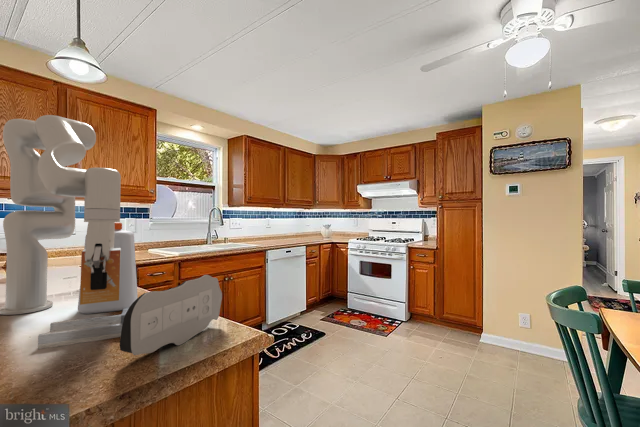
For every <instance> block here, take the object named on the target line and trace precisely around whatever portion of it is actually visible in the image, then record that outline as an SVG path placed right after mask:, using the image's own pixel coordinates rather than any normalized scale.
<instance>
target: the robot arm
mask: <svg viewBox="0 0 640 427" xmlns="http://www.w3.org/2000/svg"><path fill="white" fill-rule="evenodd" d="M2 141H3V145H4V148H5V151H6V154H7V155H8V159H9V163H10V172H9V173H10V176H9V178H10V182H9V185H10V190H9V192H10V199H11V201H12V202H13V203H14V204H15V205H16V206H22V207H23V206H24V207H35V208H36V207H38V208H39V207H40V208H53V209H54V210H27V209H26V210H16V211H12V212H10V213H8V214H6V215H5V216H4V219H3V221H2V227H3V232H4V238H5V245H6V246H5V248H6V263H5V264H6V270H5V271H6V272H5V304H4V306H2V307H0V315H4V316H12V315H13V316H14V315H22V314H30V313H34V312H35V313H37V312H40V311H44V310H47V309H49V308H52V307H53V304H54V302H53V301H52V300H47V299H48V265H49V263H48V262H49V261H48V259H49V258H48V257H49V256H48V255H49V254H48V251H47V249H46V248H45V247H44V246H43V245H42V244H41V243H40V242H39V241H41V240H42V241H43V240H59V239H60V240H61V239H68V238H70V237H71V236H72V235H73V234H74V232H75V228H76V198H84V204H83V206H84V208H83V210H84V211H83V214H84V215H83V222H84V223H87V229H86V234H87V236H86V235H85V237H86V250H85V261H86V262H89V261H88V260H91V258H92V256H93V254H94V256H93V259H92V268H91V284H90V289H91V290H98V289H106V288H107V272H106V262H107V261H108V260H110V253H111V250H112V249H114V239H115V223H121V192H122V190H121V188H122V187H121V184H122V180H121V178H122V176H121V173H120V172H119V171H118V170H117V169H113V168H107V167H89V168H88V169H85V168H78V167H77V168H76V167H69V166H74V165H76V164H79V163H80V162H81V161H82V160H83V159H85V156H86V155H87V151H88V150H91V149H92V148H93V147H94V146H95V145H96V142H97V133H96V132H95V129H94V128H93V127H92V126H91V125H89V124H88V123H86V122H83V121H79V120H75V119H71V118H68V117H67V118H66V117H64V116H63V117H62V116H59V115H53V114H45V115H42V116H39V117H37V118H36V120H31V119H24V118H13V119H9V120H7V121H6V122H5V124H4V126H3V131H2ZM35 149H36V150H43V152H42V153H41V154H39V152H38V151H36V150H35ZM104 255H105V256H104ZM101 257H104V260H100V258H101ZM102 263H103V264H102Z"/></svg>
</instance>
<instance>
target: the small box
mask: <svg viewBox="0 0 640 427" xmlns="http://www.w3.org/2000/svg"><path fill="white" fill-rule="evenodd" d="M85 250H86V249H84V248H83V250H82V251H81V253H80V254H81V255H80V256H81V257H80V258H81V259H80V260H81V261H80V284H79V285H80V286H79V292H80V305H82V304H90V303H100V302H110V301H119V296H120V263H121V248H114V249H112V250H111V253H110V260H108V261H107V262H106V272H107V288H106V289H98V290H91V289H90V284H91V268H92V259H93V256H94V254H93V256H92V258H91V260H88V261H89V262H86V261H85ZM104 256H105V255H104ZM100 260H104V257H101V258H100ZM102 264H103V263H102Z"/></svg>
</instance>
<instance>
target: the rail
mask: <svg viewBox="0 0 640 427" xmlns="http://www.w3.org/2000/svg"><path fill="white" fill-rule="evenodd" d="M128 309H129V307H127V308H124V309H123V310H122V312H121V314H114V315H106V316H97V317H89V318H88V317H87V318H81V319H71V320H70V319H69V320H63V321H62V320H61V321H53V322H50V324H49V332H46V333H39V334H38V335H37V350H40V349H41V350H42V349H49V348H54V347H61V346H62V347H63V346H67V345H76V344H82V343H89V342H90V343H91V342H95V341H96V342H97V341H103V340H109V339H115V338H120V337H121V330H122V325H123V321H124V317H125V315H126V312H127V311H128Z"/></svg>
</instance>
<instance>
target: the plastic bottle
mask: <svg viewBox="0 0 640 427" xmlns="http://www.w3.org/2000/svg"><path fill="white" fill-rule="evenodd" d="M86 236H87V233H86V234H85V237H84V238H85V239H84V248H83V250H84V249H86ZM114 248H121V263H120V296H119V301H110V302H100V303H90V304H82V305H80V291H78V292H79V293H78V302H77V311H78V312H79V313H80V314H84V315H85V314H88V315H89V314H99V313H100V314H101V313H110V312H112V313H113V312H121V311H123V309H124V308H127V307H130V306H131V304H132V303H133V302H134V301H135V300H136V299H137V298H138V297H139V294H138V284H137V283H138V280H137V267H136V266H137V264H136V247H135V233H134V232H133V231H132V230H125V229H124V230H123V223H122V222H115V239H114Z"/></svg>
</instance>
